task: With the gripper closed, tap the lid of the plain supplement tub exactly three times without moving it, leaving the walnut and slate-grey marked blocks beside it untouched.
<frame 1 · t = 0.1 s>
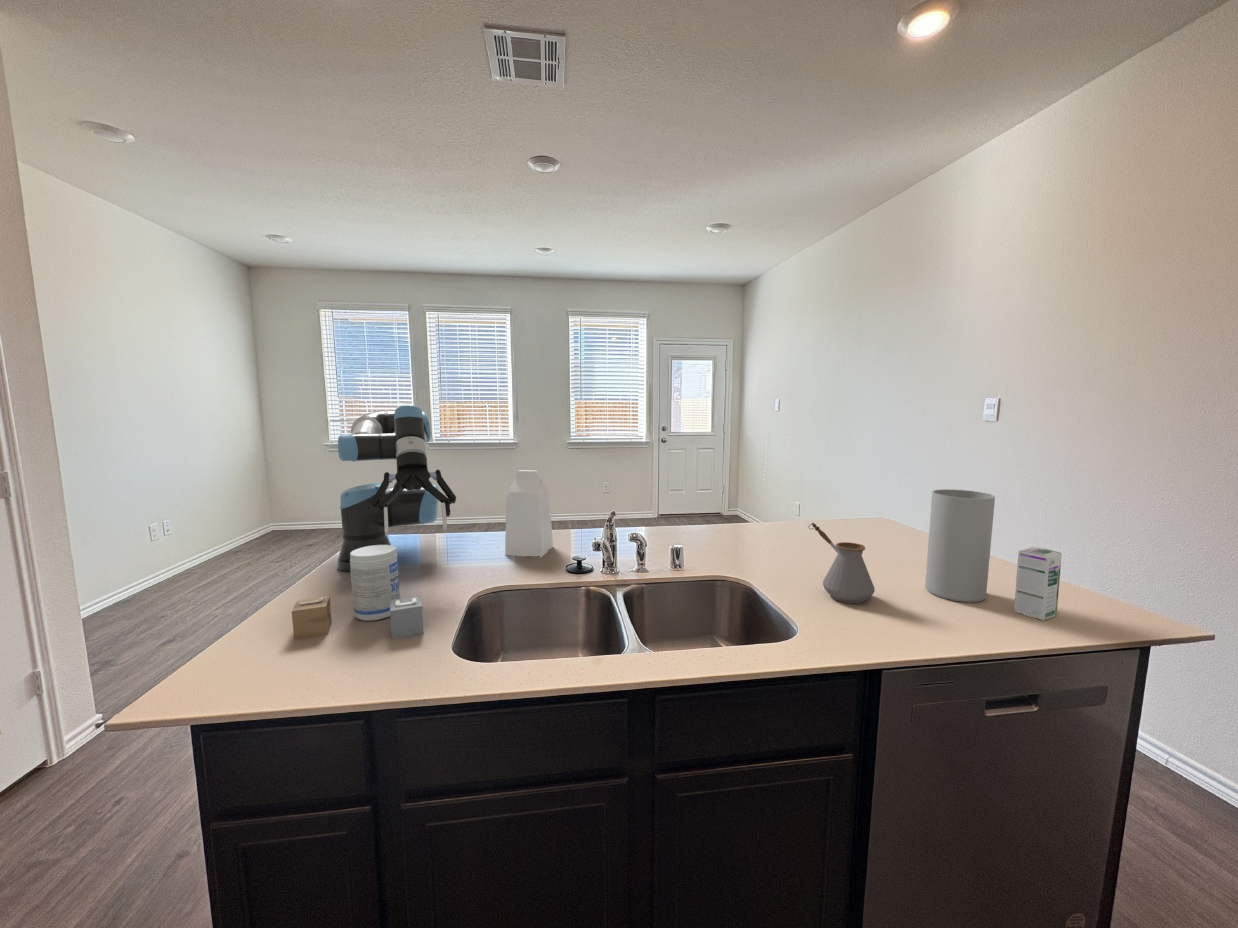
hand: (416, 530, 125), 15 cm above the worktop, tool tilted 35°, fingers open, 13 cm apart
supplement tub: (377, 613, 113), on the worktop
coffee pot: (834, 590, 126), on the worktop
walnut marked block: (313, 630, 104), on the worktop
slate grey marked block: (407, 630, 104), on the worktop
syrup box: (1034, 614, 111), on the worktop
milk: (529, 551, 160), on the worktop
cylinder vase: (954, 594, 123), on the worktop
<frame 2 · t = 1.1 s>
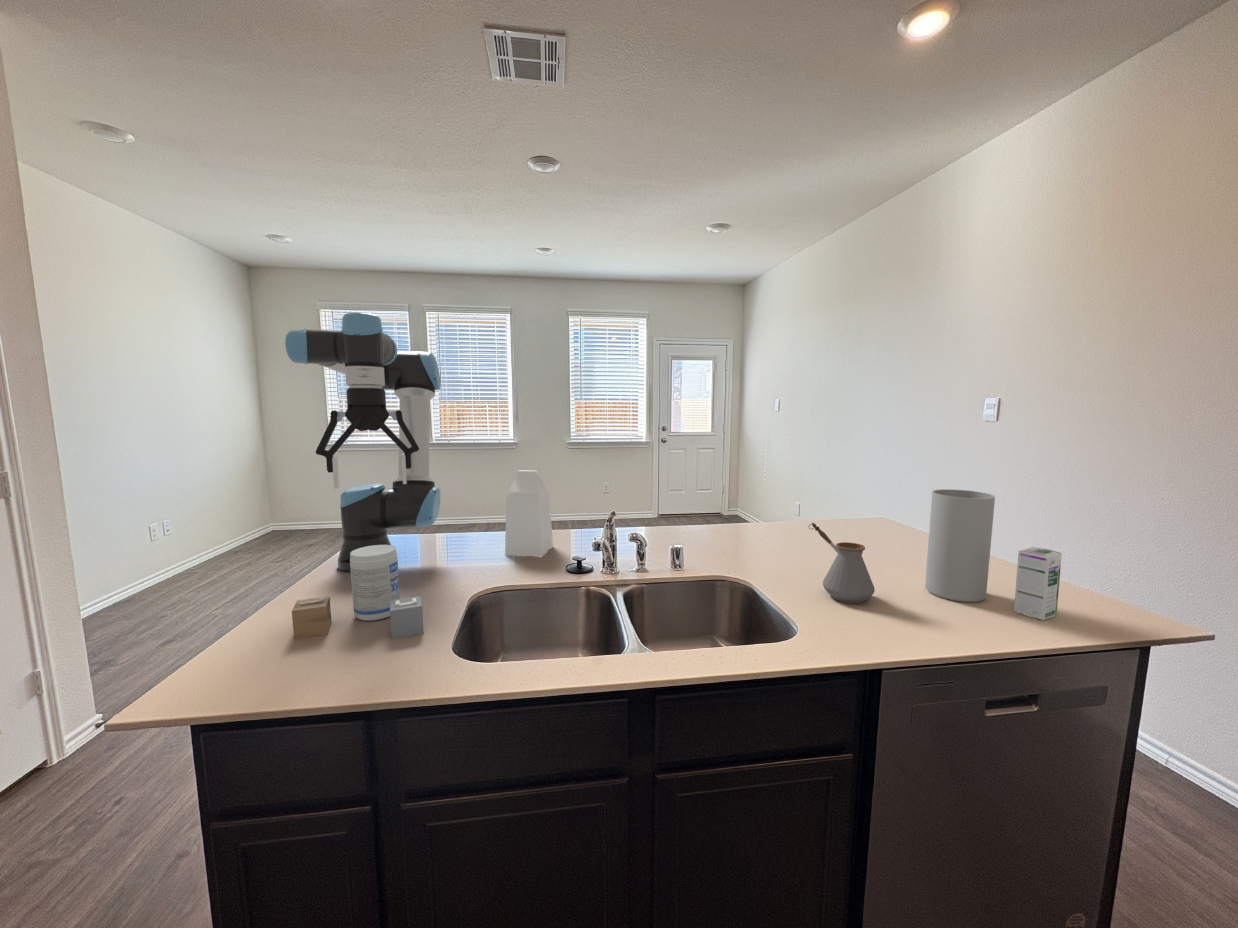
hand: (371, 485, 110), 29 cm above the worktop, tool pointing down, fingers open, 13 cm apart
nothing on the worktop moved.
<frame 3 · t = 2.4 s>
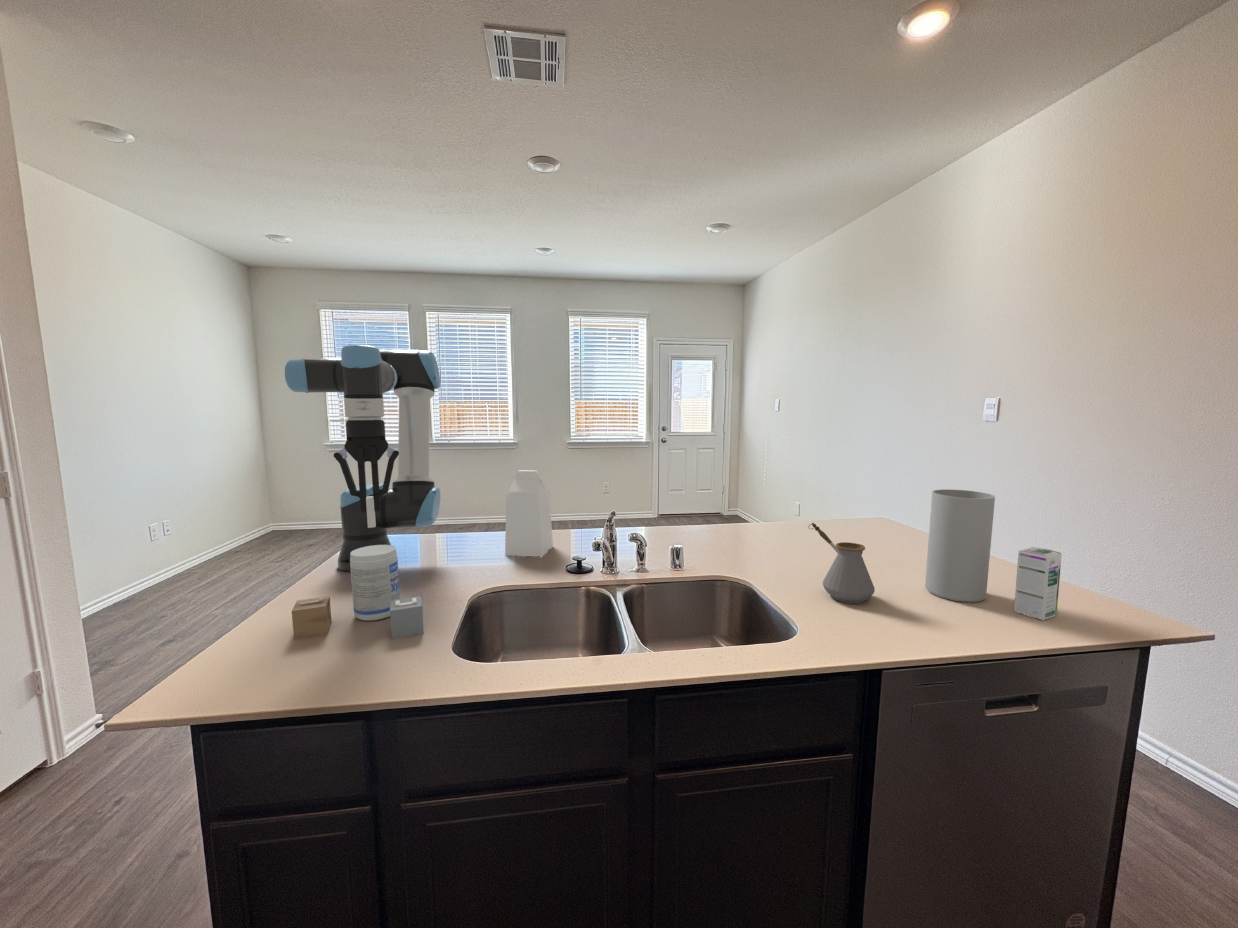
hand: (371, 526, 110), 20 cm above the worktop, tool pointing down, fingers closed
nothing on the worktop moved.
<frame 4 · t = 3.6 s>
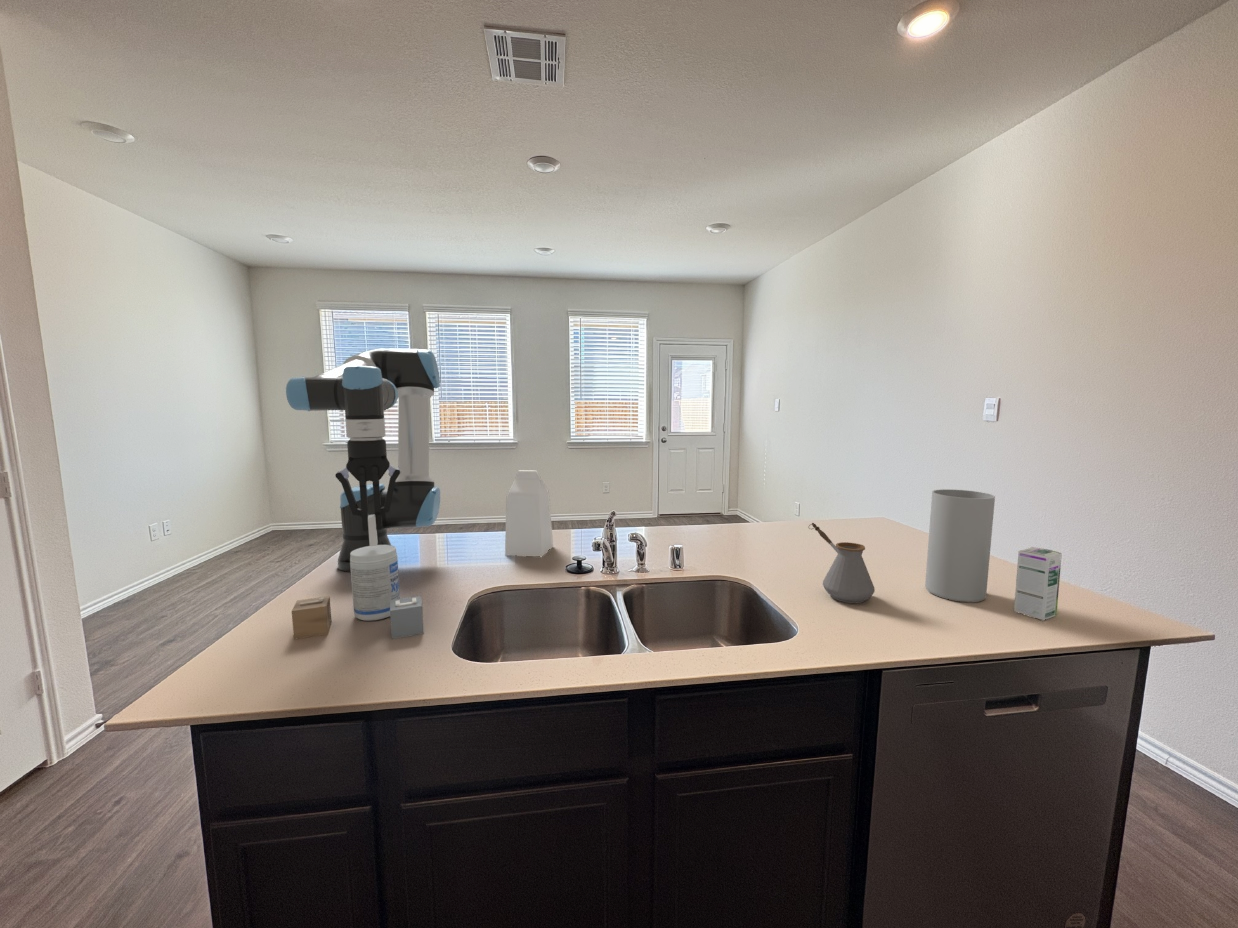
hand: (373, 544, 111), 16 cm above the worktop, tool pointing down, fingers closed
nothing on the worktop moved.
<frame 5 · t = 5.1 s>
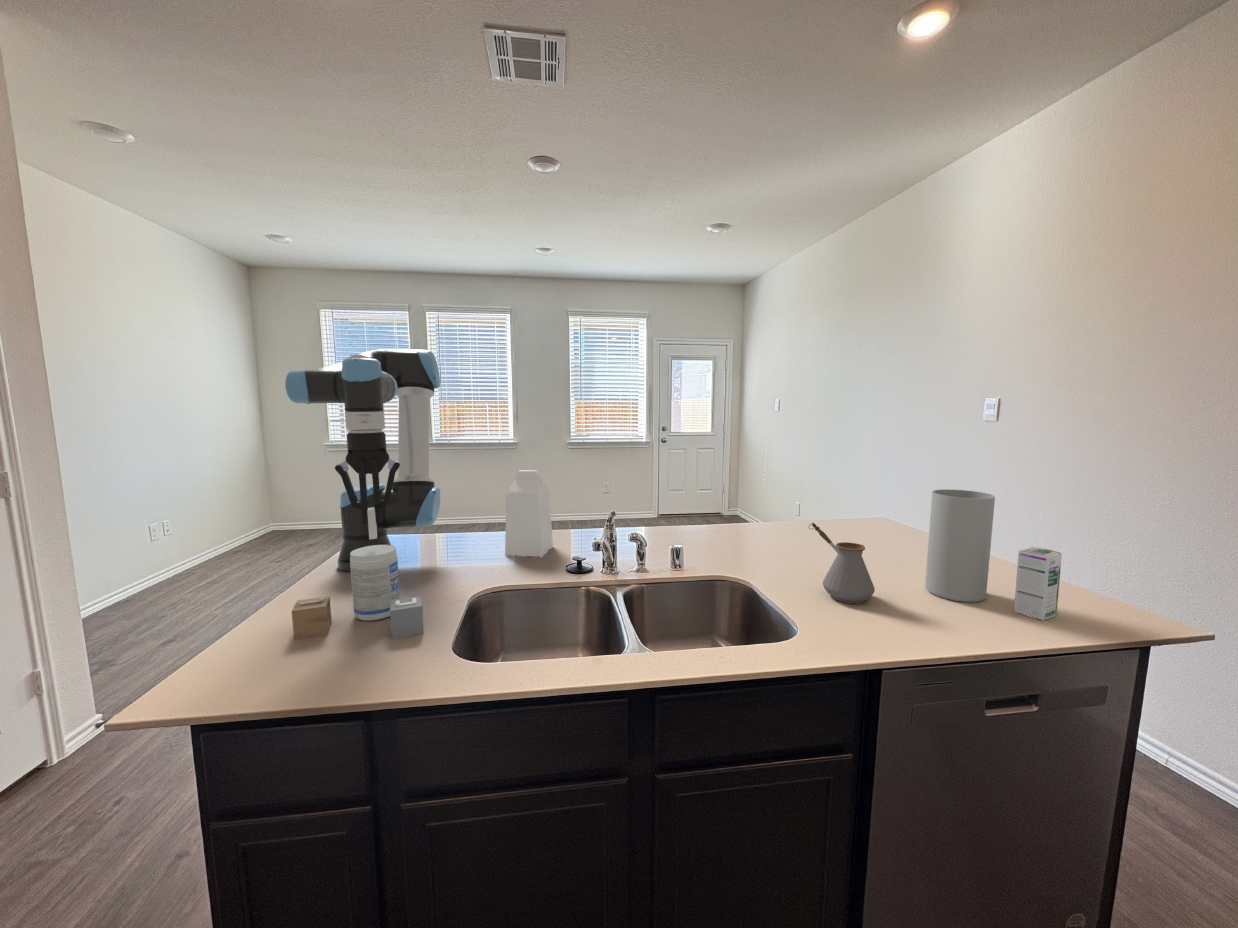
hand: (373, 537, 111), 17 cm above the worktop, tool pointing down, fingers closed
nothing on the worktop moved.
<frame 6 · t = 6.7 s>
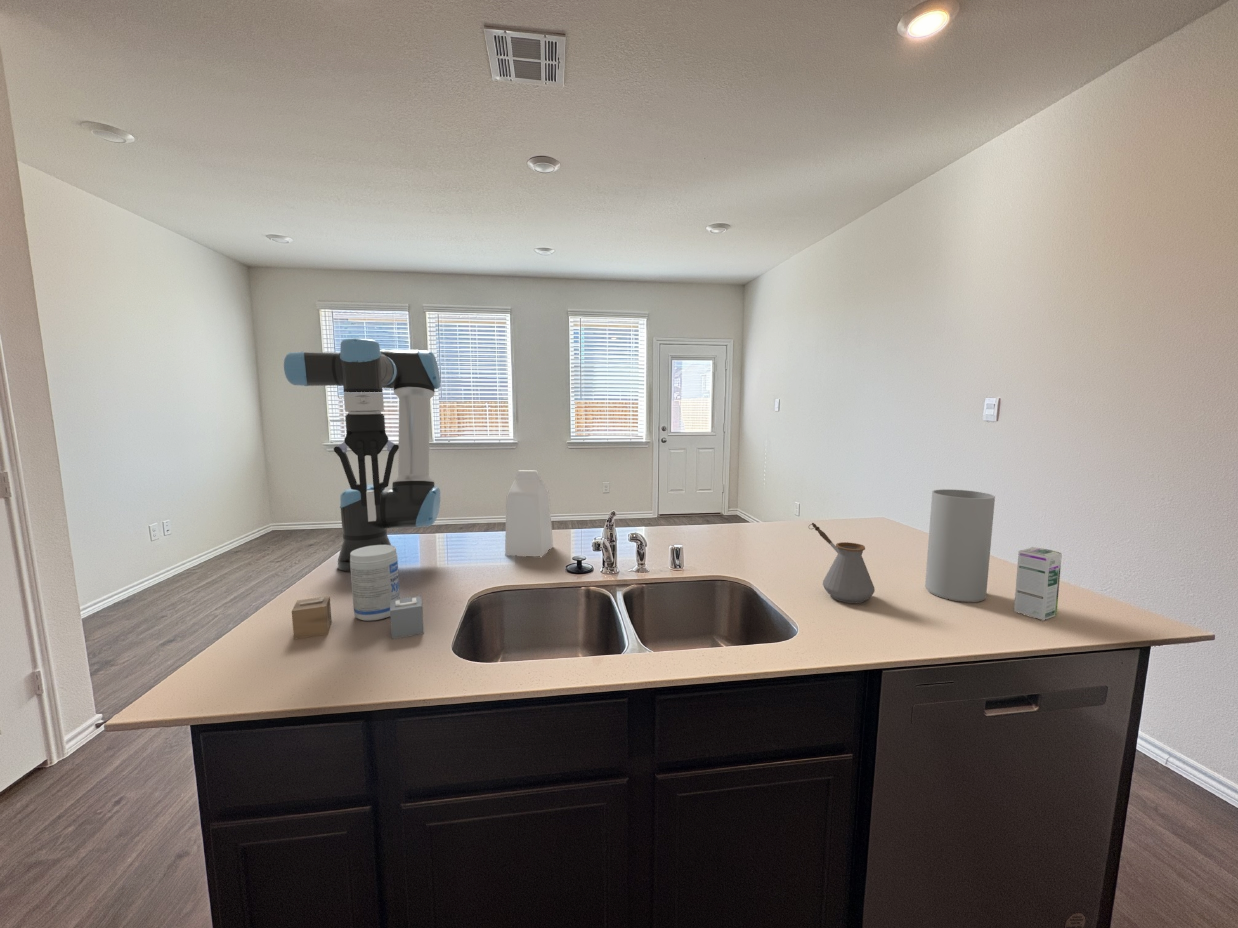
hand: (372, 519, 111), 21 cm above the worktop, tool pointing down, fingers closed
nothing on the worktop moved.
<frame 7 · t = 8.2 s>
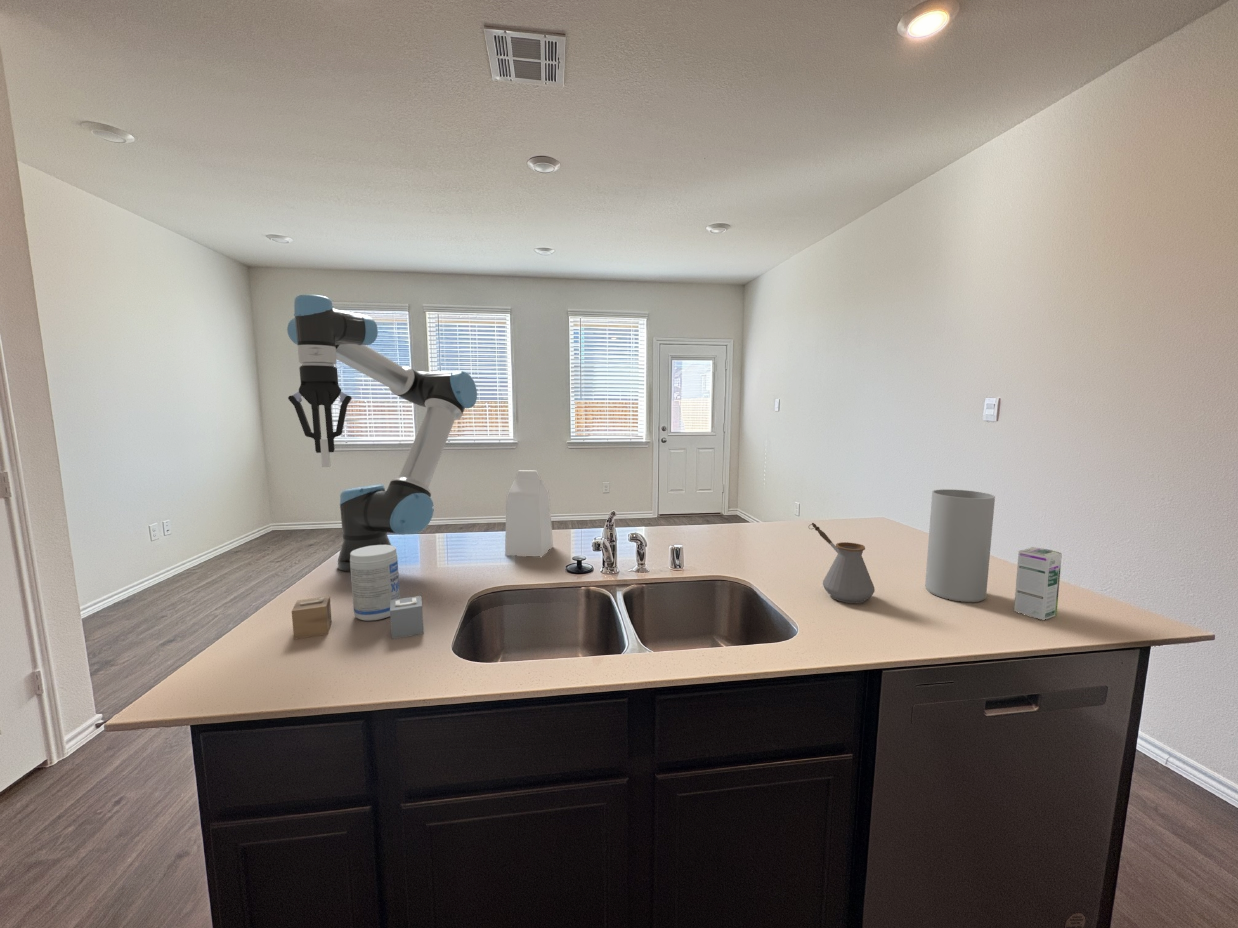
hand: (326, 466, 119), 32 cm above the worktop, tool pointing down, fingers closed
nothing on the worktop moved.
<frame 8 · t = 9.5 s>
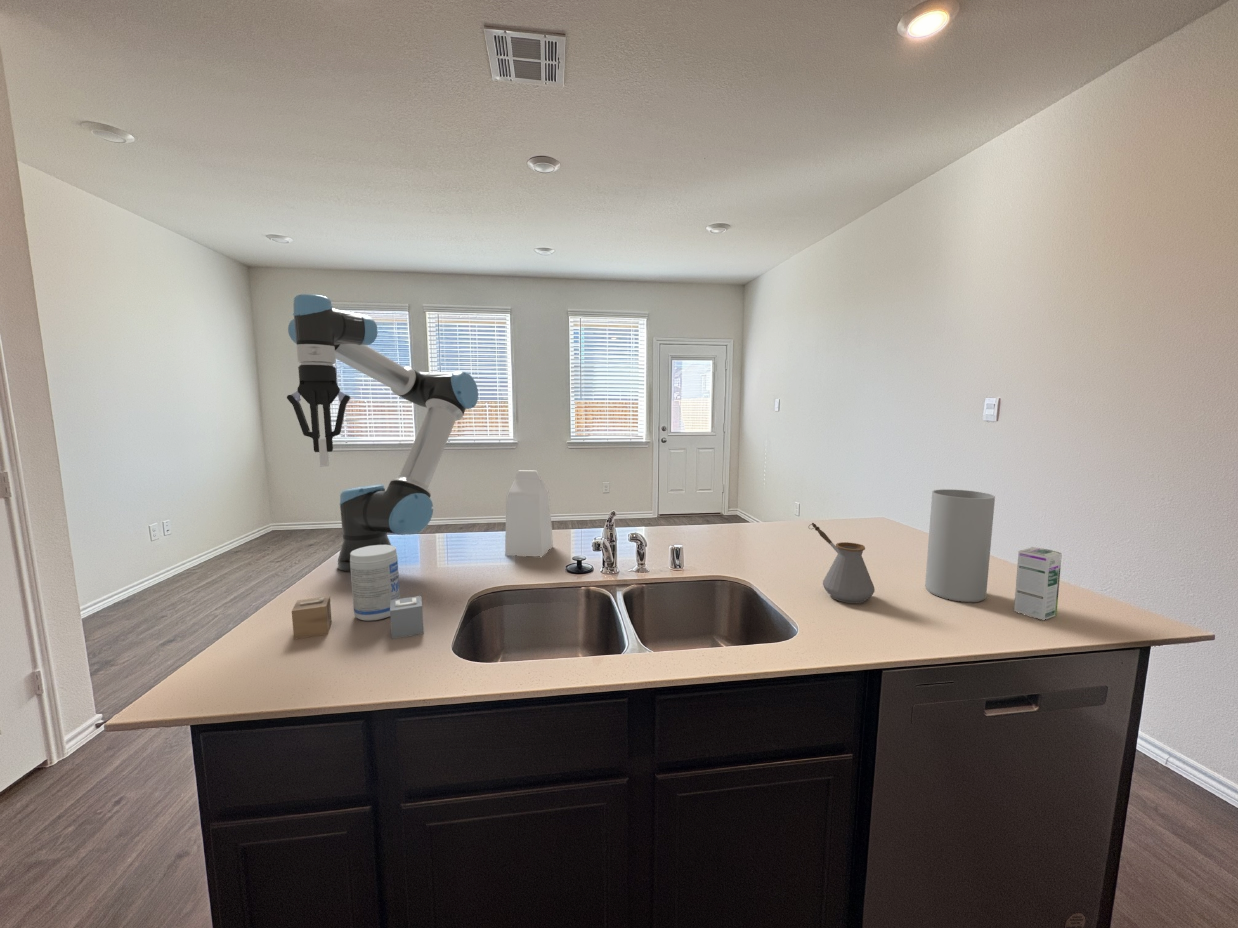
hand: (324, 465, 119), 32 cm above the worktop, tool pointing down, fingers closed
nothing on the worktop moved.
at the end: supplement tub moved 0.2 cm from its start; supplement tub tilted 0°; walnut marked block moved 0.1 cm from its start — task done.
